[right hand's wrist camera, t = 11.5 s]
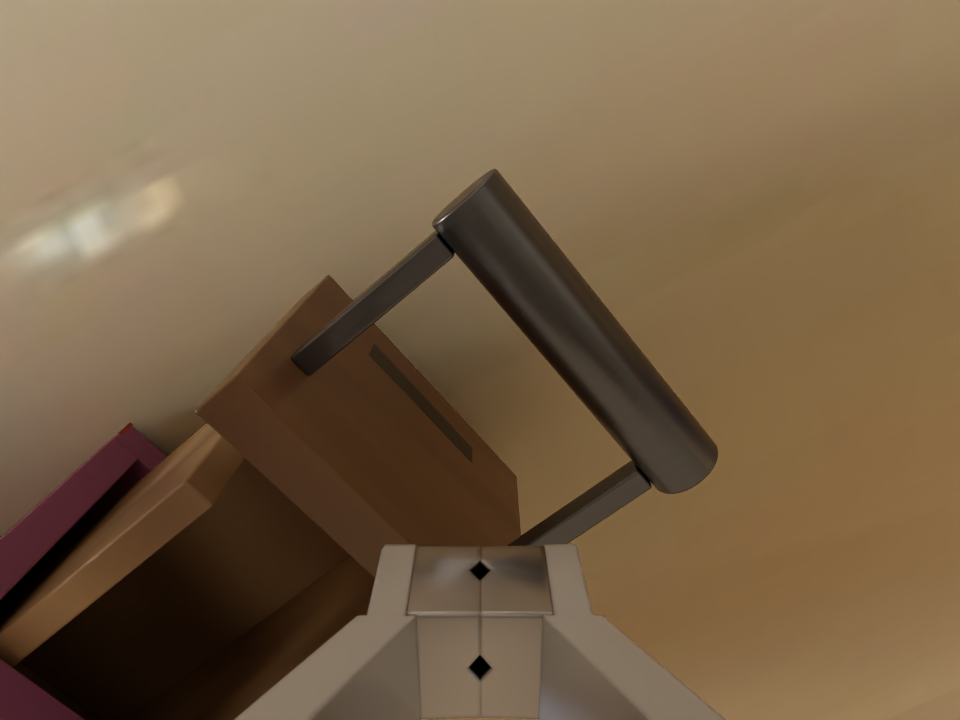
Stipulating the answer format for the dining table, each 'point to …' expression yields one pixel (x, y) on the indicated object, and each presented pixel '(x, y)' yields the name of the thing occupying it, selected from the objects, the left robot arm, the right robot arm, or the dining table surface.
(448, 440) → the drawer
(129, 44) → the dining table surface
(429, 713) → the right robot arm
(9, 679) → the cabinet
